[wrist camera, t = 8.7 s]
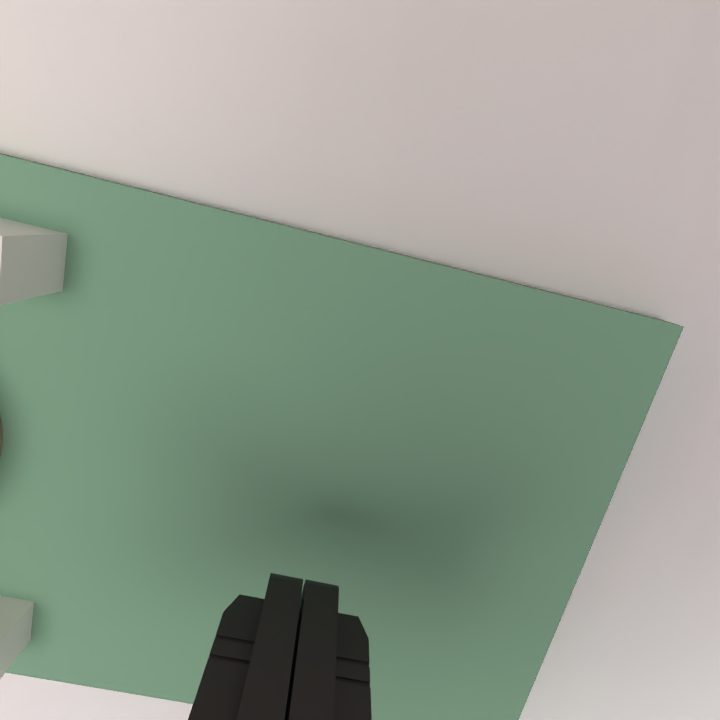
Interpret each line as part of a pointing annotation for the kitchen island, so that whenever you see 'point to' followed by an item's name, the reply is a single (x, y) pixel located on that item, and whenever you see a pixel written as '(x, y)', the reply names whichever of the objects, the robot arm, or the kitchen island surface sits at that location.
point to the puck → (1, 436)
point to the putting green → (299, 446)
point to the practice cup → (8, 285)
